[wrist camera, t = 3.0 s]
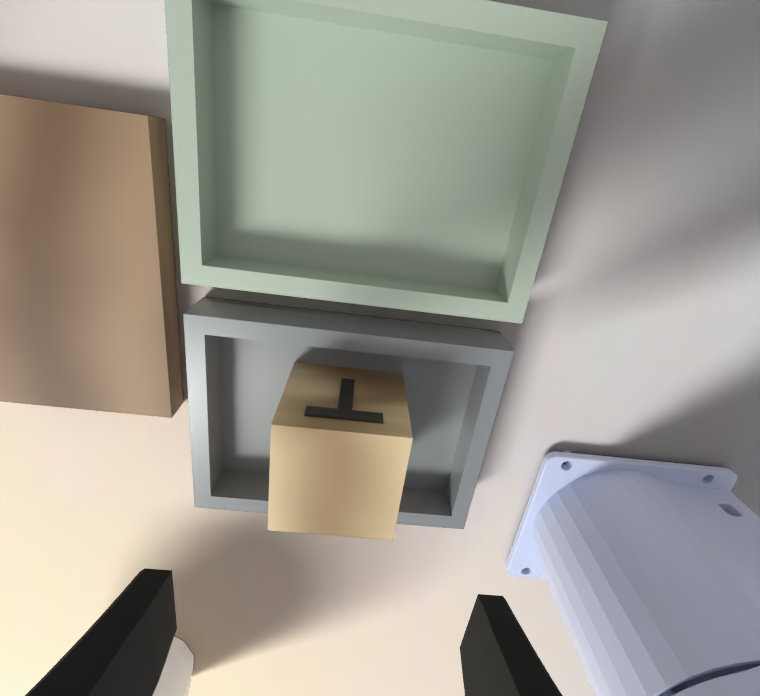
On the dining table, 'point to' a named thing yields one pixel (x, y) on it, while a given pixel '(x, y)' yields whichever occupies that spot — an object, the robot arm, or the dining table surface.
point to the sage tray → (374, 147)
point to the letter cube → (339, 452)
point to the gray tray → (343, 349)
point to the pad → (86, 260)
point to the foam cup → (176, 671)
